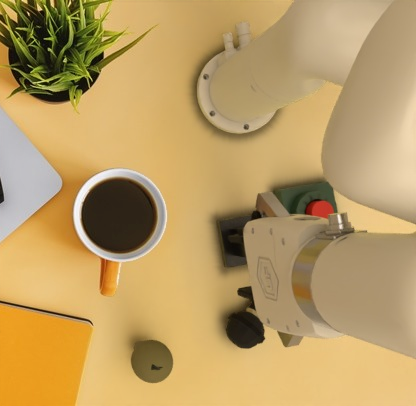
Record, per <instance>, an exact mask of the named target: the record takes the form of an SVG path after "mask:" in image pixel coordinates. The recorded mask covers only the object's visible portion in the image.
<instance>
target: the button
mask: <svg viewBox="0 0 416 406" xmlns="http://www.w3.org/2000/svg"><path fill="white" fill-rule="evenodd" d="M333 213H334V211H333V207H332V206H331V204H330V203H328V202H327V201H313V202H311V203H310V204H309V205H308V206H307V208H306V215H311V216H317V217H322V218H326V219H328V215H329V214H333Z"/></svg>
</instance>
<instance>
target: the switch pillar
mask: <svg viewBox="0 0 416 406" xmlns="http://www.w3.org/2000/svg"><path fill="white" fill-rule="evenodd" d="M251 215H252V214H248V215H241V216H236V217H230V218H225V219H220V220H216V225H217V231H218V237H219V242H220V250H221V254H222V260H223V266H224V268H233V267H234V268H235V267H239V266H245V265H248V264H247V258H246V252H245V245H244V244H240V243H230V241H228V236H230V235H236V234H238V230H237V228H242V227H245V225H246V224H247V222H249V221H250V220H251Z"/></svg>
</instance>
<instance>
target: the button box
mask: <svg viewBox="0 0 416 406" xmlns="http://www.w3.org/2000/svg"><path fill="white" fill-rule="evenodd" d="M273 194H274V195H275V196H276V197H277V199H278V200H279V201H280V203H281V204H282V205H283V206H284V208H285V209H286V210H287V211H288V213H289V214H303V215H306V208H307V206H308V205H309V204H310V203H311V202H313V201H327V202H328V203H330V204H331V206H332V207H333V211H334V213H339V212H338V211H339V210H338V204H337V202H336V197H335V190H334V189H333V188H332V186H331V185H330V184H329V183H328V181H321V182H316V183H310V184H309V183H308V184H304V185H297V186H292V187H285V188H281V189H275V190H273ZM334 213H333V214H334Z"/></svg>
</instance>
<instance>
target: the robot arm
mask: <svg viewBox="0 0 416 406" xmlns="http://www.w3.org/2000/svg"><path fill="white" fill-rule="evenodd" d="M250 26H251V25H250V22H249V21H242V22H239V23H237V24H235V32H236V38H237V39H238V46H237V47H236V48H235V46H234V37H233V33H232V32H226V33H223V34H222V36H221V37H222V43H223V46H224V50H223V51H221V52H219V53H218V54H216V55H215V56H213V57H212V58H211V59H210V60H209V61H208V62H206V64H205V65H204V67H203V68H202V69H201V71H200V73H199V76H198V79H197V83H196V97H197V98H196V99H197V103H198V106H199V108H200V111H201V112H202V114H203V116H204V117H205V118H206V119H207V121H208V122H209V123H210V124H212V125H213V126H214V127H216V129H219V130H221V131H222V132H225V133H229V134H238V135H240V134H247V133H250V132H254V131H256V130H258V129H261V128H262V127H264V126H265V125H266V124H268V123H269V122H270V120H271V119H272V118H273V117H274V115H275V114H276V112H277V110H280V109H282V108H285V107H287V106H290V105H293V104H294V103H297V102H300V101H302V100H304V99H305V98H308V97H310V96H312V95H314V94H316V93H317V92H318V91H319V90H321V89H322V88H323V87H324V86H325V85H326V83H331V84H333V85H337V86H338V87H342V88H341V90H340V93H339V94H338V98H337V100H336V102H335V104H334V106H333V110H332V111H331V113H330V117H329V119H328V122H327V125H326V127H325V128H326V129H325V131H324V134H323V139H322V142H321V143H322V144H321V150H320V164H321V170H322V173H323V175H324V178H325V180H326V182H328V183H329V184H330V185H331V186H332V188H333V191H335V192H336V193H338V194H339V195H341V196H343V197H344V198H346V199H347V200H349V201H351V202H354V203H356V204H358V205H361V206H362V207H366V208H368V209H372V210H374V211H376V212H380V213H382V214H385V215H388V216H391V217H394V218H397V219H399V220H401V221H405V222H408V223H410V224H413V225H416V0H293V2H292V3H291V4H290V6H289V7H288V8H287V9H286V11H285V12H284V14H282V16H281V17H280V18H279V19H278V20H276V21H275V22H274V23H273V24H272V25H270V26H269V27H268V28H267V29H266V30H264V31H263V32H262V33H261V34H259V35H258V36H257V37H255V38H254V39H252V36H251V35H252V32H251V27H250ZM254 206H255V207H254V208H255V210H253V211H252V213H251V214H250V215H251V220H250V221H249V222H247V224H246V225H245V227H242V228H237V230H238V234H236V235H230V236H228V241H230V243H240V244H244V245H245V252H246V258H247V264H246V265H247V269H248V276H249V281H250V285H247V286H243V287H238V288H237V290H236V292H237V296H238V297H242V298H245V299H248V300H249V302H250V303H255V308H256V312H257V315H258V317H259V319H260V321H261V322H262V323H263V326H264V327H267V328H268V329H270V330H271V329H272V330H273V331H276V332H277V335H278V336H279V339H280V342H281V343H282V345H283V347H284V348H290V347H295V346H296V347H297V346H299V345H300V344H301V341H302V340H303V339H304V338H311V339H322V340H325V339H326V340H327V339H328V340H329V339H339V338H341V337H343V336H347V337H351V338H354V339H356V340H359V341H363V342H365V343H368V344H371V345H373V346H376V347H380V348H382V349H385V350H389V351H391V352H394V353H397V354H400V355H403V356H405V357H409V358H412V359H413V360H416V231H413V232H410V233H400V232H399V233H398V232H372V231H371V232H369V231H368V229H355V226H352V223H351V221H349V217H348V212H347V211H344V212H343V211H341V212H338V213H334V214H329V215H328V219H326V218H322V217H317V216H311V215H303V214H289V213H288V211H287V210H286V209H285V208H284V206H283V205H282V204H281V203H280V201H279V200H278V199H277V197H276V196H275V194H274V191H271V190H270V191H263V192H258V193H257V195H256V200H255V205H254Z"/></svg>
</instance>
